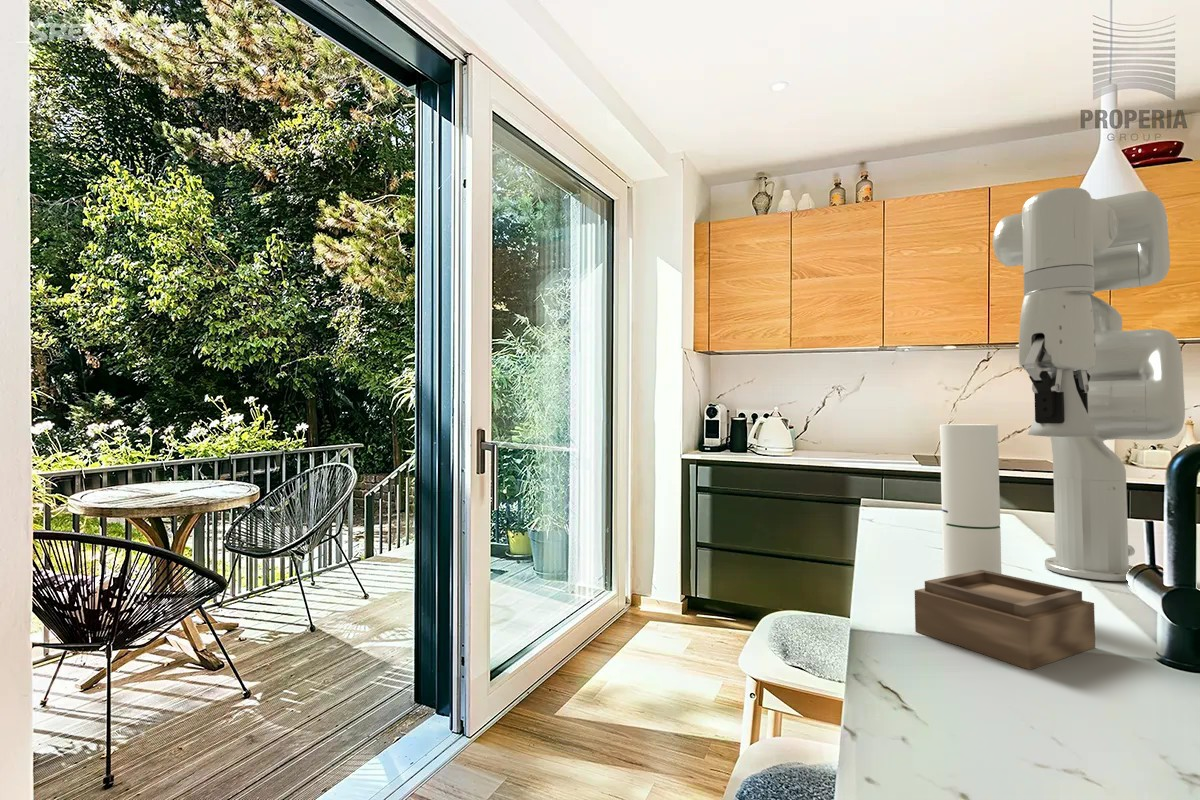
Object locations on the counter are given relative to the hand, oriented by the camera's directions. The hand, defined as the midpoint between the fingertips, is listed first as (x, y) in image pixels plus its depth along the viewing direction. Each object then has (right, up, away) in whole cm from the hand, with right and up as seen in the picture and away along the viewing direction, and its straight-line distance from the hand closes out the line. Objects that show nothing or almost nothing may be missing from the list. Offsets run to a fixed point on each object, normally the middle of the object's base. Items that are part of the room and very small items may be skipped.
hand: (1061, 421), depth 82 cm
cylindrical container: (-8, -26, +7) cm, 28 cm away
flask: (0, -2, 0) cm, 2 cm away
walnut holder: (-14, -25, -9) cm, 30 cm away
